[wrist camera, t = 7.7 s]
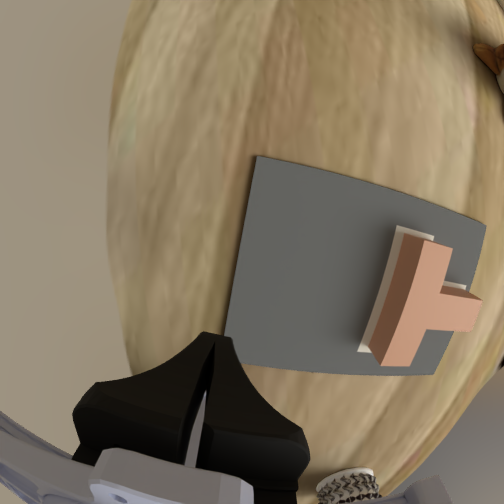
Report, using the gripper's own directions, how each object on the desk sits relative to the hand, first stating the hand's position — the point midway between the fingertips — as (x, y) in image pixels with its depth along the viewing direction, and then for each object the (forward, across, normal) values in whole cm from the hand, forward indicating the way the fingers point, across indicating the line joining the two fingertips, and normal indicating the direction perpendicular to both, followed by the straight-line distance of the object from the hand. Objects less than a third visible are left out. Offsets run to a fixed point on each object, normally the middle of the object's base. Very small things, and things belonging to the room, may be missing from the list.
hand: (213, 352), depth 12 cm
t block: (+9, -17, -2) cm, 19 cm away
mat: (+9, -11, -2) cm, 15 cm away
